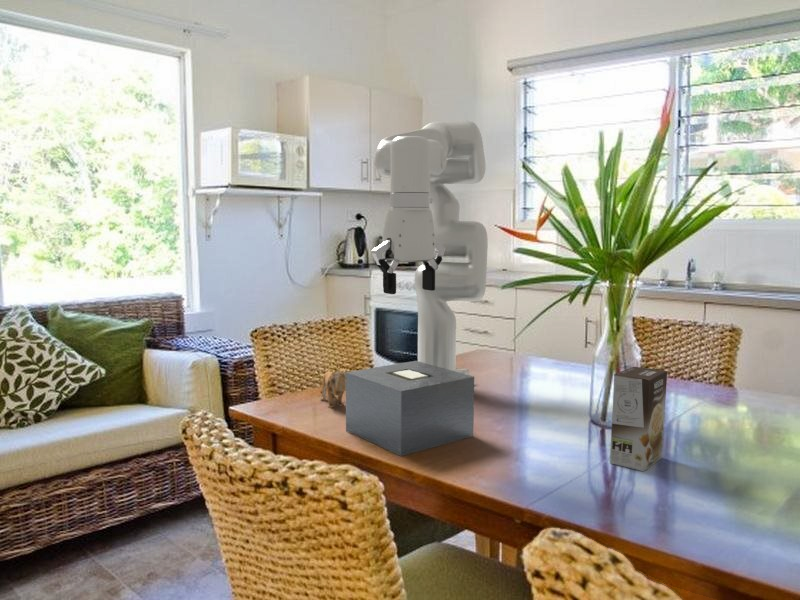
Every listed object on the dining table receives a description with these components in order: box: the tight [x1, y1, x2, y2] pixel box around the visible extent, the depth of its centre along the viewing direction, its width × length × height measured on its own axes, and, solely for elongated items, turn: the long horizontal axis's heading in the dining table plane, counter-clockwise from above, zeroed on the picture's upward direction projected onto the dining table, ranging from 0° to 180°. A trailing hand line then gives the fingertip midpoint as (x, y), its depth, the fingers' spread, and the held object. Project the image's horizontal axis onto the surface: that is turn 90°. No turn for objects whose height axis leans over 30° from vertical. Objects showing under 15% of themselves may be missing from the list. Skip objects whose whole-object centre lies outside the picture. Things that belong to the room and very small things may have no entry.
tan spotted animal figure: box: [320, 368, 348, 409], centre depth 155 cm, size 15×5×9 cm, turn 29°
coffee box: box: [609, 366, 668, 472], centre depth 118 cm, size 9×6×16 cm
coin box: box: [345, 360, 475, 457], centre depth 133 cm, size 18×18×12 cm
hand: (409, 291), depth 131 cm, fingers open, 9 cm apart
